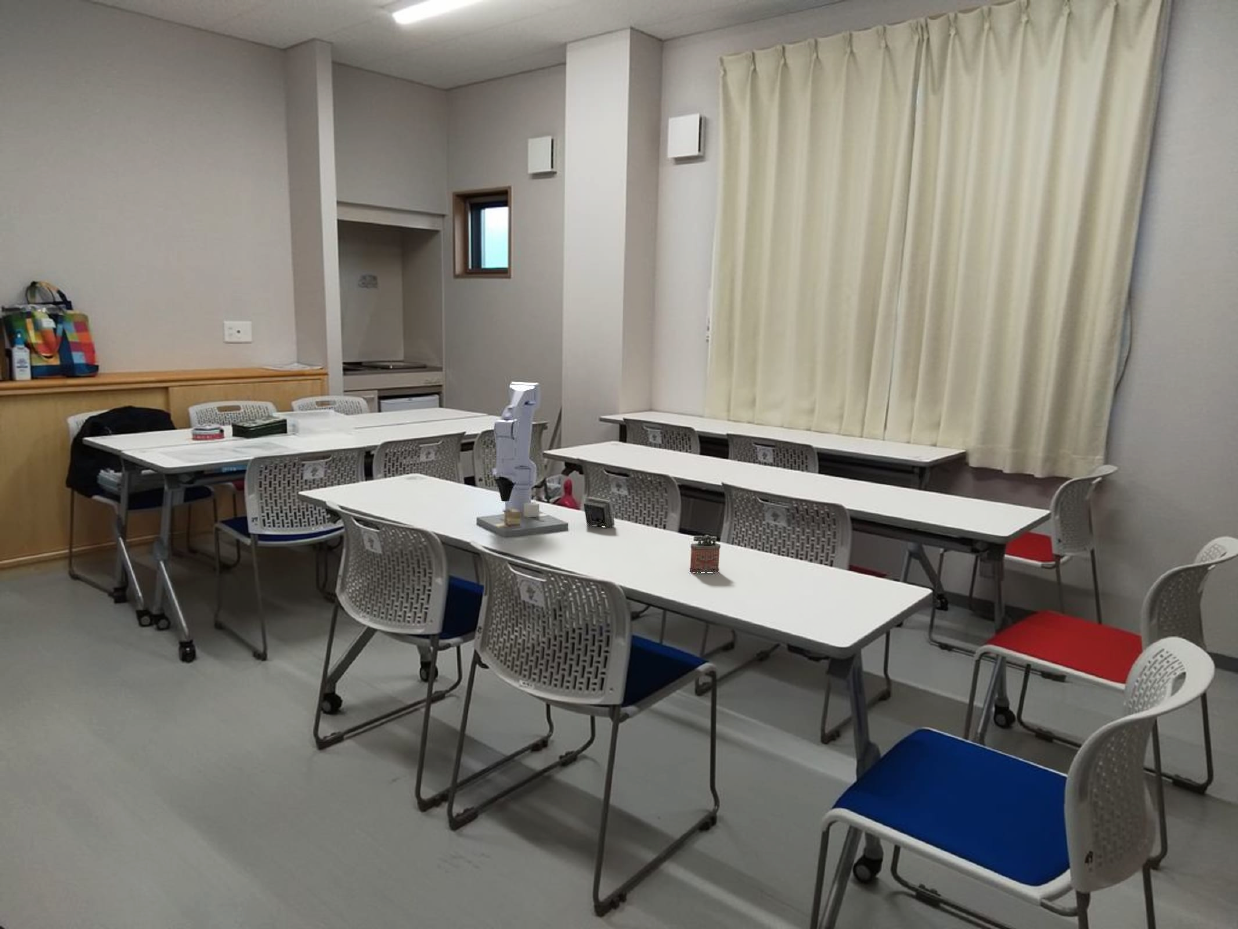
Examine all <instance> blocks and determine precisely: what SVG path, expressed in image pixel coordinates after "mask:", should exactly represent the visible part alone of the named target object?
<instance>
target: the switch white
mask: <svg viewBox="0 0 1238 929" xmlns="http://www.w3.org/2000/svg"><path fill="white" fill-rule="evenodd" d="M539 511H540V503H537V502H535V501H534V502H532V501H531V503H524V516H526V517H536V516H539Z"/></svg>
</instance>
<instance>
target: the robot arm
mask: <svg viewBox="0 0 1238 929" xmlns="http://www.w3.org/2000/svg"><path fill="white" fill-rule="evenodd" d="M541 396H542V387H541V385H540V383H539V382H517V381H511V383H510V384H509V388H508V397H509V399H510V403H509V405H507V406H506V407H505V408H504V409H503V412H502V415H501V416H500V419H498V420H496V421H495V422H494V426H493V435H494V442H495V443H494V444H496V454H495V456H496V464H495V465H496V466H495V468H492V469H491V470H492V472H491V473H492V474H491V475H493V476H494V477H495V476H496V477H498V478H494V482H495V484H496V487H497V489H498V492H499V495H500V496H499V497H500V500H501V502H502V503H503V502H504V506H505V507H504V508H503V509H502V511H504V512H505V510H514V509H517V510H519V511H521V512H524V503H532V488H533V487H534V486H536V483H537V477H538V476H537V469H538V468H537V465H536V463H535V462H534V461H532V460H531V458H530V451H531V442H532V434H533V421H534V416H535V411H536V410H538V409H540V406H541V400H542V397H541Z"/></svg>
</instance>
